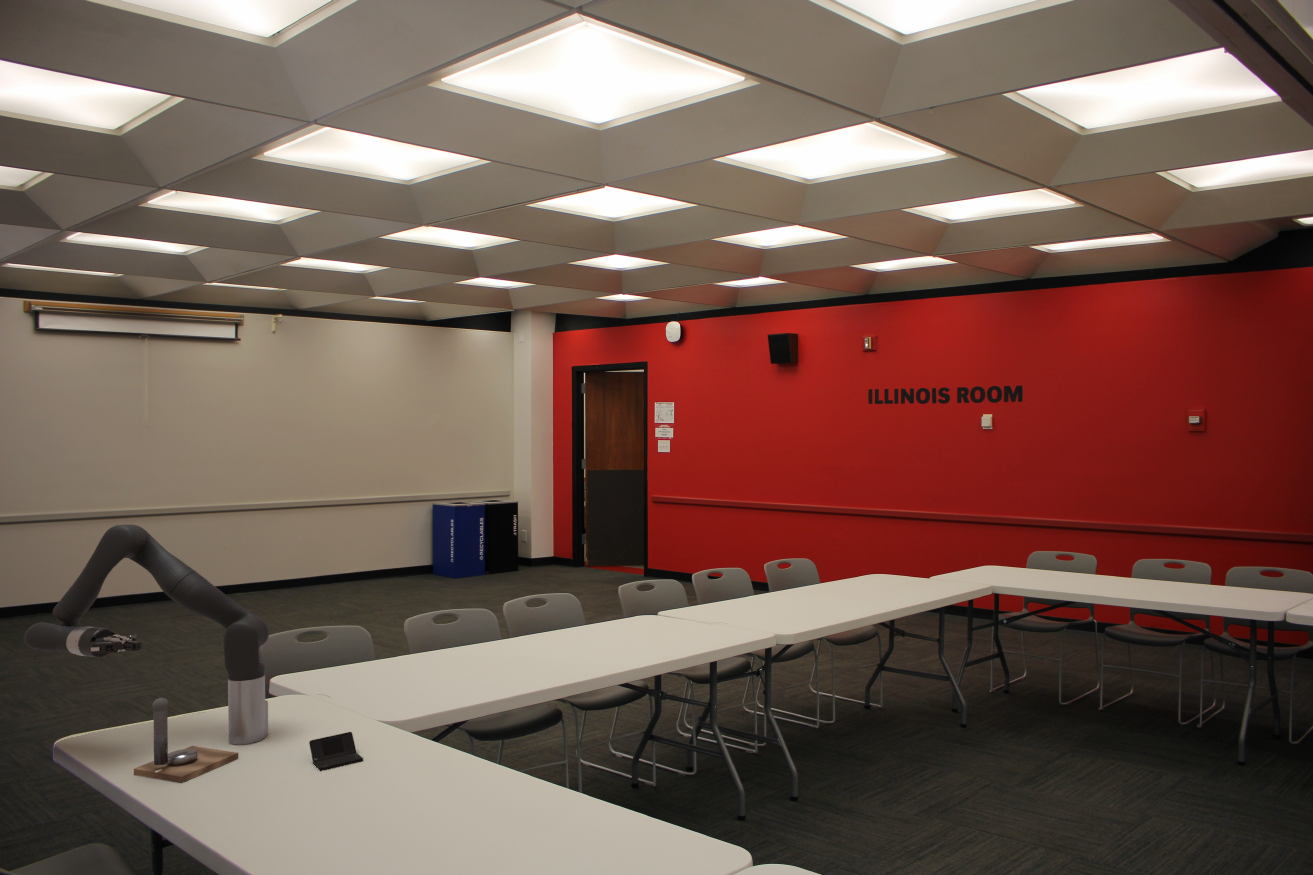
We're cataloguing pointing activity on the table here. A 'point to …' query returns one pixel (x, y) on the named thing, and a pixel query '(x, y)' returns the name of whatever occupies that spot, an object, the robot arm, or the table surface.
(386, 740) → the table surface
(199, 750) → the walnut stand base
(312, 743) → the handheld gaming console
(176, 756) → the grey upright post stand
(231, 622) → the robot arm
